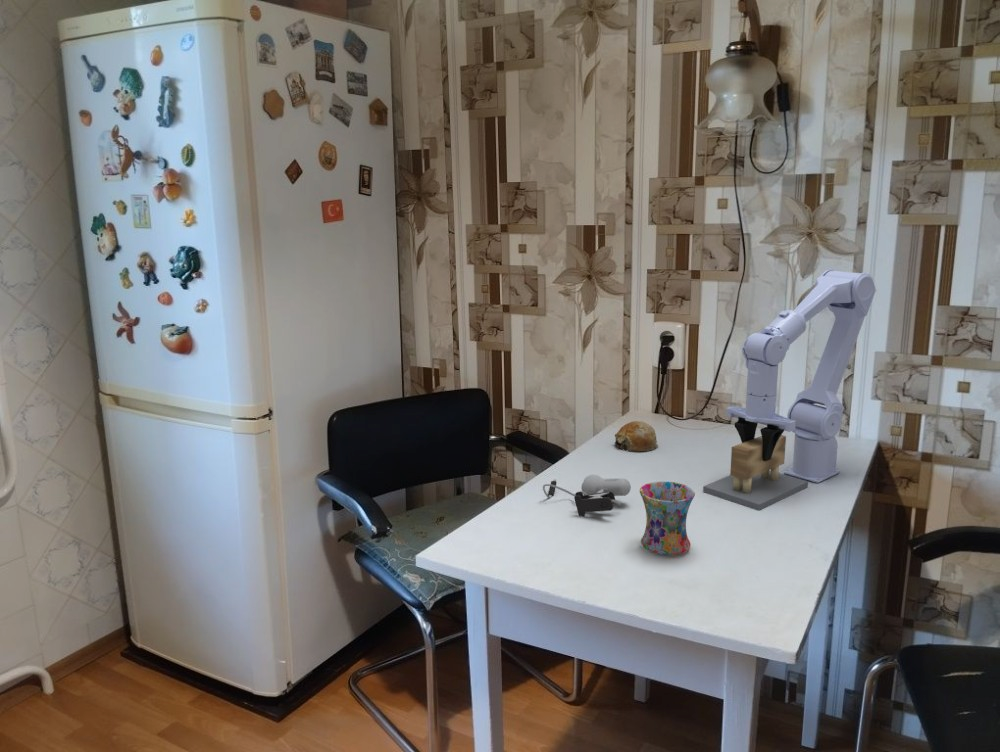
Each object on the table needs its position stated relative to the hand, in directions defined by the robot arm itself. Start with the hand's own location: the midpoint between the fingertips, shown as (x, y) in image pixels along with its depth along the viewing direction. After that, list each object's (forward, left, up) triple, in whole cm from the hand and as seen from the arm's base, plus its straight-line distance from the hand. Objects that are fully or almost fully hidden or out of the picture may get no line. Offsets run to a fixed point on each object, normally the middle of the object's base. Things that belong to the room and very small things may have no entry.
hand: (757, 457), depth 163 cm
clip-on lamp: (+32, -19, -7) cm, 38 cm away
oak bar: (0, 0, -3) cm, 3 cm away
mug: (+34, +4, -7) cm, 35 cm away
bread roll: (-3, -35, -7) cm, 36 cm away
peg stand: (0, 0, -7) cm, 7 cm away
